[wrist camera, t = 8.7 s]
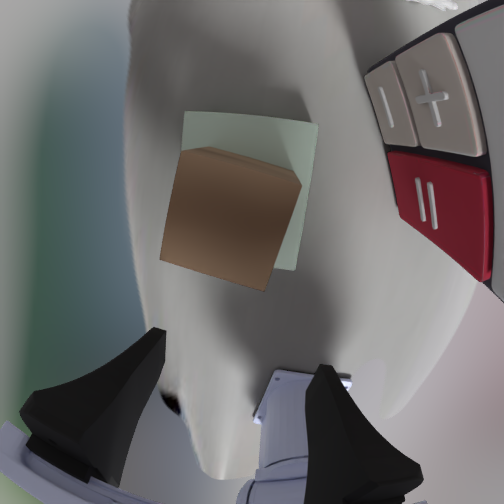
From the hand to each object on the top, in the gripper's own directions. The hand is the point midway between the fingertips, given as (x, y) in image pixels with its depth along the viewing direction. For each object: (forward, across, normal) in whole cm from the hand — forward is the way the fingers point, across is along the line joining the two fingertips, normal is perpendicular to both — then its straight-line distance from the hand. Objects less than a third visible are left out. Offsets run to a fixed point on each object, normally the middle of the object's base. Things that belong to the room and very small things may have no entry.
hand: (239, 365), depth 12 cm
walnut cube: (+7, +2, -6) cm, 9 cm away
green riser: (+10, +2, -6) cm, 12 cm away
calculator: (+10, -8, -12) cm, 17 cm away
